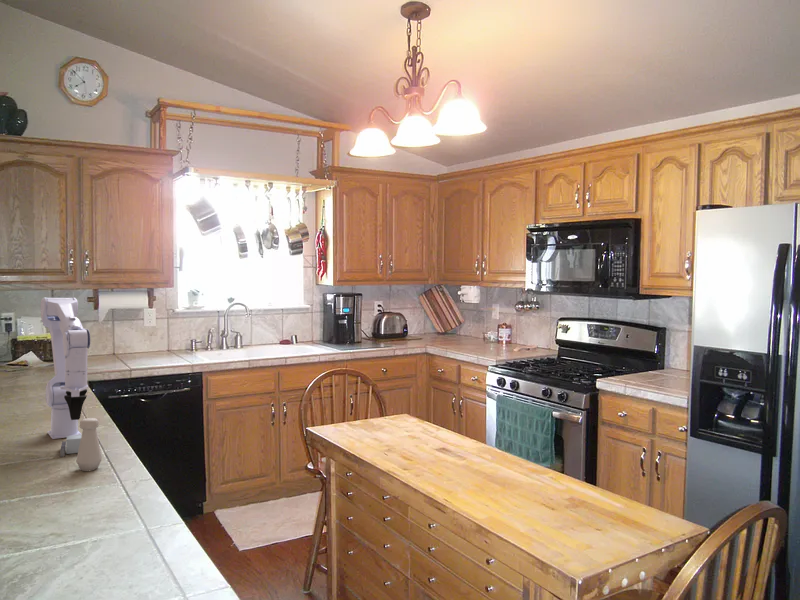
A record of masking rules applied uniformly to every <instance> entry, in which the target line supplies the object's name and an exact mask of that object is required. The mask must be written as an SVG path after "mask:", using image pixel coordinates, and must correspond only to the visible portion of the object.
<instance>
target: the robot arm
mask: <svg viewBox="0 0 800 600" xmlns="http://www.w3.org/2000/svg"><path fill="white" fill-rule="evenodd" d="M78 312H79V301H78V299H77V298H76V297H75V296H74V297H46V296H45V297H42V298H41V301H40V316H41V323H42V326H44V327H45V328H48V330H49V334H50V340H51V349H52V359H53V371H54V376H53V377H52V378H51V379H49V380H48V381H47V384H46V386H45V401H46V405H47V406H48V407H49V408H51V413H50V430H47V434H48V436H49V437H50V438H51V439H52V440H56V439H62V438H64V439H65V438H67V436H74V435H82V432H80V431H79V420H80V419H81V415H82V410H83V406H84V403H85V400H86V399H87V396H88V395H87V392H88V389H89V385H88V357H89V356H88V354H89V353H88V350H89V349H90V347H91V341H92V339H91V332H90V330H89V328H84V326H83V324H82V322H81V320H80V318H78V316H77V315H78Z"/></svg>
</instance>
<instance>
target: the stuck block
mask: <svg viewBox="0 0 800 600" xmlns="http://www.w3.org/2000/svg"><path fill="white" fill-rule="evenodd" d="M81 436H82V435H74V436H67V437H66V440H65V441H66V451H65V455H66V454H69V455H70V454H78V450H79V446H80V441H81Z"/></svg>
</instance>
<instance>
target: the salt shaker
mask: <svg viewBox="0 0 800 600" xmlns="http://www.w3.org/2000/svg"><path fill="white" fill-rule="evenodd" d="M99 421H100V420H99V419H97V418H95V417H88V418H86V417H85V418H84V419H81V420H80V423H79V428H80V429H81V430H82V431H81V434H82V436H81V441H80V446H79V450H78V453H77V456H76V459H75V460H76V464H77V465H78V468H79V471H81V470H82V472H89V470H91V471H94V470H97V469H99V467H100V464H101V462H102V459H103V457H102V452H101V446H100V442H99V436H98V431H97V428H98V427H99V425H100V423H99ZM96 468H97V469H96Z"/></svg>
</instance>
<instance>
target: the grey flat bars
mask: <svg viewBox="0 0 800 600" xmlns="http://www.w3.org/2000/svg"><path fill="white" fill-rule="evenodd" d="M59 450H60V452H59V454H60V455H59V457H60V458H64V457H63V456H66V440H64V441H61V446H60V449H59Z"/></svg>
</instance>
